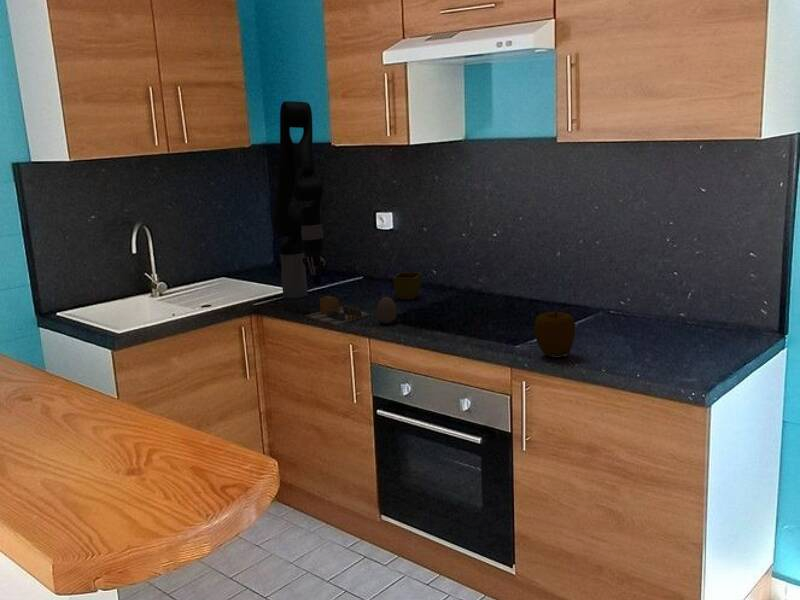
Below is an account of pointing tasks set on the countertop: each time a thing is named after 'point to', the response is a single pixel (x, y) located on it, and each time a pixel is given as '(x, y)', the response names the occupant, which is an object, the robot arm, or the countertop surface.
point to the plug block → (329, 304)
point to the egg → (386, 310)
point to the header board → (339, 315)
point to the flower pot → (407, 285)
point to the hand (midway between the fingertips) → (316, 285)
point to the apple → (555, 333)
